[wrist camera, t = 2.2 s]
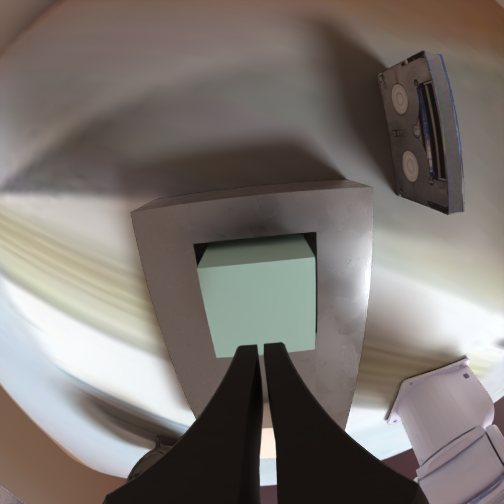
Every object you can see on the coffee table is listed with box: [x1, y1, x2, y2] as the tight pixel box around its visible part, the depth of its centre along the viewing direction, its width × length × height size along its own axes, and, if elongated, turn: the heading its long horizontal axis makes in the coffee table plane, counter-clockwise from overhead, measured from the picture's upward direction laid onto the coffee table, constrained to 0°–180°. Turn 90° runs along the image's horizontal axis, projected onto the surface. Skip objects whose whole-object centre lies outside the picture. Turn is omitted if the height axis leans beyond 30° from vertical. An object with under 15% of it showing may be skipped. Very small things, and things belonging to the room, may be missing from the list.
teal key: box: [197, 233, 316, 358], centre depth 14 cm, size 5×5×4 cm
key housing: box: [131, 179, 373, 431], centre depth 18 cm, size 12×22×4 cm, turn 6°
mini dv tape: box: [377, 51, 464, 215], centre depth 12 cm, size 8×2×6 cm, turn 11°
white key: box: [260, 403, 276, 459], centre depth 18 cm, size 5×5×4 cm
